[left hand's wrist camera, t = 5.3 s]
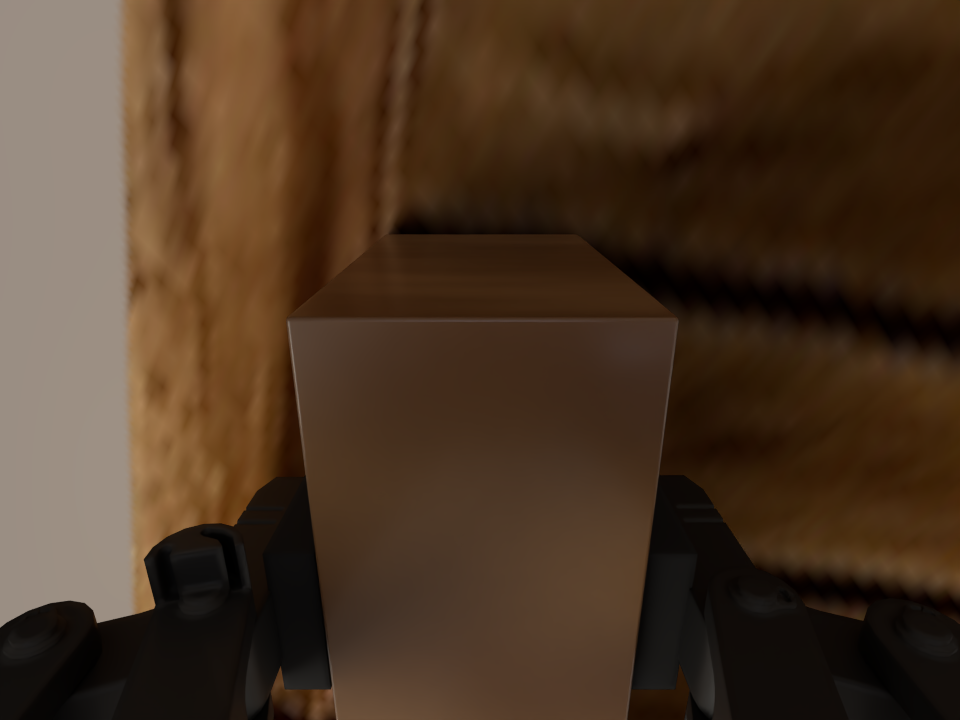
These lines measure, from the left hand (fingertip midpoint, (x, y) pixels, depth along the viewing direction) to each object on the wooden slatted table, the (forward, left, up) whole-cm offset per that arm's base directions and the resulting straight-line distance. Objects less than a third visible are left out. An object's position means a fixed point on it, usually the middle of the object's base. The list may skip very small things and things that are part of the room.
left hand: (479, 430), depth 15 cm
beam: (-2, +19, -1) cm, 19 cm away
